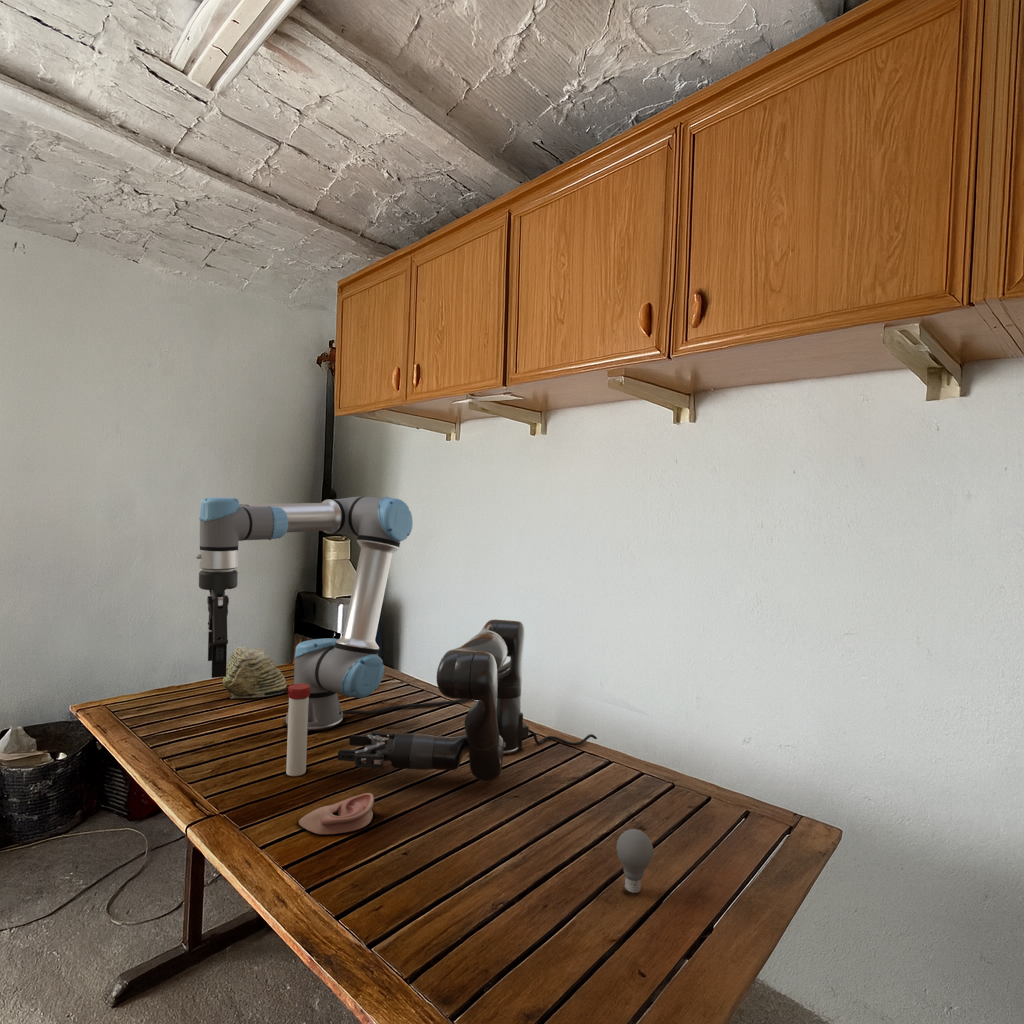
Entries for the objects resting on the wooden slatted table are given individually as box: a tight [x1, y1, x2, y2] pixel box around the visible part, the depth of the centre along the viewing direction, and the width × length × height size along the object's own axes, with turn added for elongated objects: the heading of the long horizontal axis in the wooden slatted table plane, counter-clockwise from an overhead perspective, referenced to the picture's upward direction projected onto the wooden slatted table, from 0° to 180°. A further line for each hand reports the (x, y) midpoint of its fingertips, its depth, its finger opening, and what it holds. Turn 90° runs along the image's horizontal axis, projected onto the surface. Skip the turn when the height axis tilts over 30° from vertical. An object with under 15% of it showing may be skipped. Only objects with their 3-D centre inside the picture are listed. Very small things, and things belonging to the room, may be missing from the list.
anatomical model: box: [298, 792, 375, 835], centre depth 124 cm, size 13×4×12 cm
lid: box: [287, 683, 310, 699], centre depth 145 cm, size 5×5×2 cm
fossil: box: [222, 646, 288, 699], centre depth 198 cm, size 9×18×15 cm, turn 132°
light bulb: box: [615, 828, 654, 894], centre depth 106 cm, size 6×6×10 cm
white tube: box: [285, 697, 309, 777], centre depth 145 cm, size 4×4×19 cm
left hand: (216, 668), depth 136 cm, fingers open, 13 cm apart
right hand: (344, 747), depth 144 cm, fingers open, 8 cm apart
